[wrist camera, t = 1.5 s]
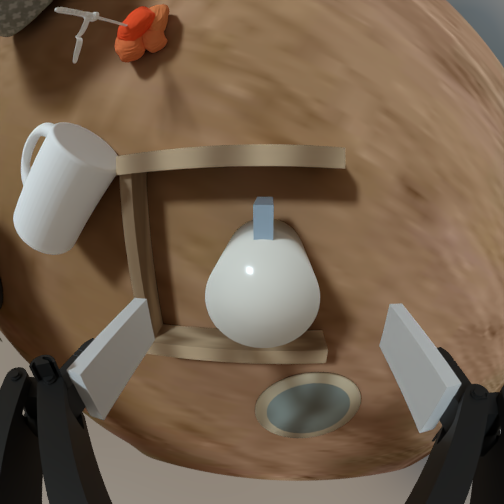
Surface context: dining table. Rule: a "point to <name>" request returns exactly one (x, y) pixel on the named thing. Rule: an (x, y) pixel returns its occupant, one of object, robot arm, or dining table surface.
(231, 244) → the blue handled white cup
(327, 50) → the dining table surface
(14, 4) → the planter
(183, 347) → the wooden u-shaped frame
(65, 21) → the dining table surface
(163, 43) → the orange lump with branch
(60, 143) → the mug
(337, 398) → the coaster
